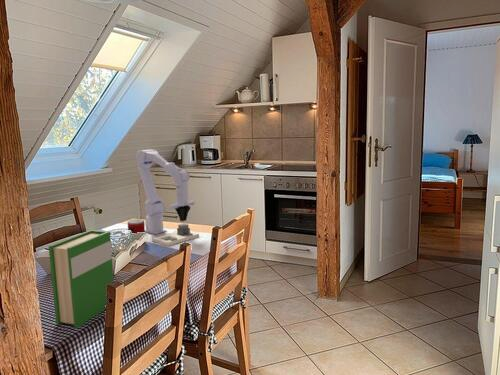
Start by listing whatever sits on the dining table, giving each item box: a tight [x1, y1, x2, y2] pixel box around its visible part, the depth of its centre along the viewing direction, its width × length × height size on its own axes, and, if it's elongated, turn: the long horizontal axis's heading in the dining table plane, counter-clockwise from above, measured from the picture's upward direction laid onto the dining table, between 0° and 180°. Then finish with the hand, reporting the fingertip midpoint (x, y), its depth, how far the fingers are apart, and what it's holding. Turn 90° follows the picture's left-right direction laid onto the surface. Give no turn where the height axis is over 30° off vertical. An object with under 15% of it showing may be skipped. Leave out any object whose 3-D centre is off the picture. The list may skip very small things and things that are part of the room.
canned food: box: [127, 218, 146, 233], centre depth 197 cm, size 8×8×11 cm
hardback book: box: [48, 229, 114, 329], centre depth 124 cm, size 18×7×24 cm, turn 162°
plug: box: [176, 223, 191, 236], centre depth 206 cm, size 4×4×6 cm
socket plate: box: [151, 230, 200, 247], centre depth 203 cm, size 12×20×2 cm, turn 139°
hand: (183, 220), depth 205 cm, fingers closed
